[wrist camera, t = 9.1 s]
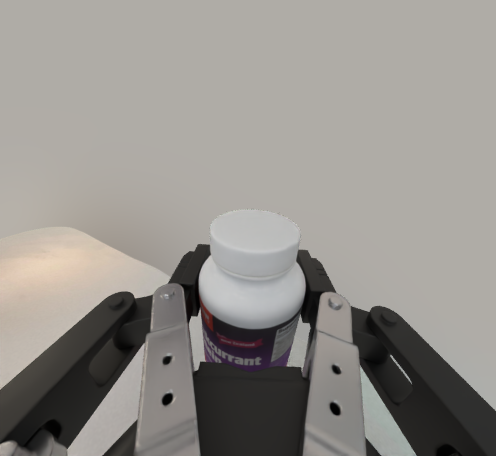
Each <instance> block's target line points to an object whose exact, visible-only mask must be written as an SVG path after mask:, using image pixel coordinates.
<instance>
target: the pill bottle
mask: <svg viewBox="0 0 496 456" xmlns="http://www.w3.org/2000/svg"><path fill="white" fill-rule="evenodd" d="M300 237H301V233H300V229H299V227H298V226H297V225H296V224H295V223H294V222H293V221H292V220H290V219H289V218H287V217H285V216H283V215H280V214H278V213H274V212H270V211H264V210H254V209H247V210H246V209H245V210H235V211H231V212H227V213H225V214H222V215H220V216H218V217H217V218H215V219H214V220H213V222H212V223H211V225H210V252H211V256H209V258H208V259H207V260H206V261H205V263H204V264H203V266H202V268H201V271H200V274H199V298H200V308H201V318H202V329H203V340H204V352H205V360H206V362H216V363H226V364H229V365H232V366H234V367H237V368H240V369H243V370H245V371H248V372H254V371H258V370H262V369H266V368H270V367H274V366H287V362H288V358H289V355H290V351H291V347H292V343H293V339H294V335H295V332H296V328H297V324H298V320H299V316H300V313H301V309H302V305H303V302H304V296H305V291H306V283H305V277H304V274H303V271H302V269H301V268H300V266H299V264H298V263H297V262H296V258H297V253H298V248H299V242H300Z"/></svg>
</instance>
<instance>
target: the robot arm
mask: <svg viewBox="0 0 496 456" xmlns="http://www.w3.org/2000/svg"><path fill="white" fill-rule="evenodd" d="M209 256H211V252H210V245H206V244H198V245H197V247H196V250H195V251H194V252H192V251H189V252H188V253H187V254H186V255H184V256H183V258H182V259H181V261H180V263H179V265H178V267H177V268H176V270H175V272H174V274H173V275H172V277H171V279H170V281H169V282H168V284H166V285H163V286H161V287H160V288H158V289H157V290H156V291H155V293H154V294H153V295H151V296H147V297H141V298H136V299H135V298H134V295H133V294H132V293H130V292H118V293H115V294H113V295H111V296H109V297H107V298H106V299H104V300H103V301H102V302H101V303H100V304H99V305H97V306H96V307H95V308H94V309H93V310H92V311H90V312H89V313H88V314H87V315H86V316H85V317H84V318H82V319H81V320H80V321H79V322H78V323H77V324H76V325H74V326H73V327H72V328H71V329H70V330H69V331H67V332H66V333H65V334H64V335H63V336H62V337H61V338H59V339H58V340H57V341H56V342H55V343H54V344H52V345H51V346H50V347H49V348H48V349H47V350H46V351H44V352H43V353H42V354H41V355H40V356H39V357H38V358H36V359H35V360H34V361H33V362H32V363H31V364H29V365H28V366H27V367H26V368H25V369H24V370H23V371H21V372H20V373H19V374H18V375H17V376H16V377H14V378H13V379H12V380H11V381H10V382H9V383H8V384H6V385H5V386H4V387H3V388H2V389H1V390H0V456H68V454H67V449H68V448H69V446H70V445H71V443H72V442H73V441H74V439H75V438H76V437H77V435H78V434H79V432H80V431H81V430H82V428H83V427H84V425H85V424H86V423H87V421H88V420H89V419H90V417H91V416H92V414H93V413H94V412H95V410H96V409H97V407H98V406H99V405H100V403H101V402H102V400H103V399H104V398H105V396H106V395H107V394H108V392H109V391H110V389H111V388H112V387H113V385H114V384H115V382H116V381H117V380H118V378H119V377H120V376H121V374H122V373H123V371H124V370H125V369H126V367H127V366H128V364H129V363H130V362H131V360H132V359H133V358H134V356H135V355H136V353H137V352H138V351H139V349H140V348H141V346H142V345H143V344H144V343H145V349H144V359H143V370H142V380H141V390H140V401H139V411H138V419H137V420H136V421H135V422H134V423H133V424H132V425H131V426H130V428H129V429H128V430H127V431H126V432H125V433H124V434H123V435H122V436H121V437H120V438H119V439H118V440H117V441H116V442H115V443H114V444H113V445H112V446H111V447H110V448H109V449H108V450H107V451H106V452H105V453H104V455H103V456H381V455H380V454H379V453H378V451H377V450H376V449H375V448H374V447H373V445H372V444H371V443H370V442H369V441H368V439H367V438H366V437H365V429H364V416H363V402H362V389H361V376H360V365H361V367H362V369H363V370H364V372H365V374H366V375H367V377H368V378H369V380H370V382H371V383H372V385H373V386H374V388H375V390H376V391H377V393H378V394H379V396H380V398H381V399H382V401H383V402H384V404H385V406H386V407H387V409H388V410H389V412H390V414H391V415H392V417H393V418H394V420H395V422H396V423H397V425H398V426H399V428H400V430H401V431H402V433H403V434H404V436H405V438H406V439H407V441H408V442H409V444H410V446H411V447H412V449H413V450H414V452H415V454H416V455H417V456H496V411H495V410H494V409H493V408H492V407H491V406H490V405H489V404H488V403H487V402H486V401H485V400H484V399H483V398H482V397H481V396H480V395H479V394H478V393H477V392H476V391H475V390H474V389H473V388H472V387H471V386H470V385H469V384H468V383H467V382H466V381H465V380H464V379H463V378H462V377H461V376H460V375H459V374H458V373H457V372H456V371H455V370H454V369H453V368H452V367H451V366H450V365H449V364H448V363H447V362H446V361H445V360H444V359H443V358H442V357H441V356H440V355H439V354H438V353H437V352H436V351H435V350H434V349H433V348H432V347H431V346H430V345H429V344H428V343H427V342H426V341H425V340H424V339H423V338H422V337H421V336H420V335H419V334H418V333H417V332H416V331H415V330H414V329H413V328H411V326H410V325H409V324H408V323H407V322H406V321H405V320H404V319H403V318H402V317H401V316H399V315H398V314H397V313H395V312H394V311H392V310H390V309H388V308H386V307H382V306H375V307H372V308H371V310H370V312H367V311H364V310H361V309H358V308H355V307H352V306H350V303H349V302H348V301H347V300H346V299H345V298H344V297H343V296H341V295H339V294H337V293H336V291H335V289H334V287H333V285H332V283H331V281H330V279H329V277H328V276H327V274H326V271H325V270H324V268H323V265H322V264H321V263H320V262H319V261H318V260H317V259H316V258H311V256H310V254H309V252H308V251H307V250H298V253H297V258H296V262H297V263H298V264H299V266H300V268H301V269H302V271H303V274H304V277H305V283H306V291H305V296H304V302H303V305H302V309H301V313H300V314H301V318H302V321H303V323H310V327H311V329H310V332H309V338H308V344H307V349H306V355H305V361H304V367H303V371H301V367H286V366H274V367H270V368H266V369H262V370H258V371H254V372H248V371H245V370H243V369H240V368H237V367H234V366H232V365H229V364H226V363H216V362H200V365H199V369H198V370H197V371H194V364H193V356H192V347H191V339H190V330H189V322H190V319H191V316H198V313H199V310H200V298H199V274H200V271H201V268H202V266H203V264H204V263H205V261H206V260H207V259H208V258H209ZM390 355H392V356H393V358H394V359H395V360H396V361H397V362H398V364H399V365H400V366H401V368H402V369H403V370H404V371H405V373H406V374H407V375H408V377H409V378H410V380H411V382H412V384H411V383H410V381H409V380H408V379H407V378H406V376H405V375H404V374H403V372H402V371H401V370H400V369H399V367H398V366H397V365H396V363H395V362H394V361H393V360H392V358H391V357H390Z"/></svg>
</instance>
